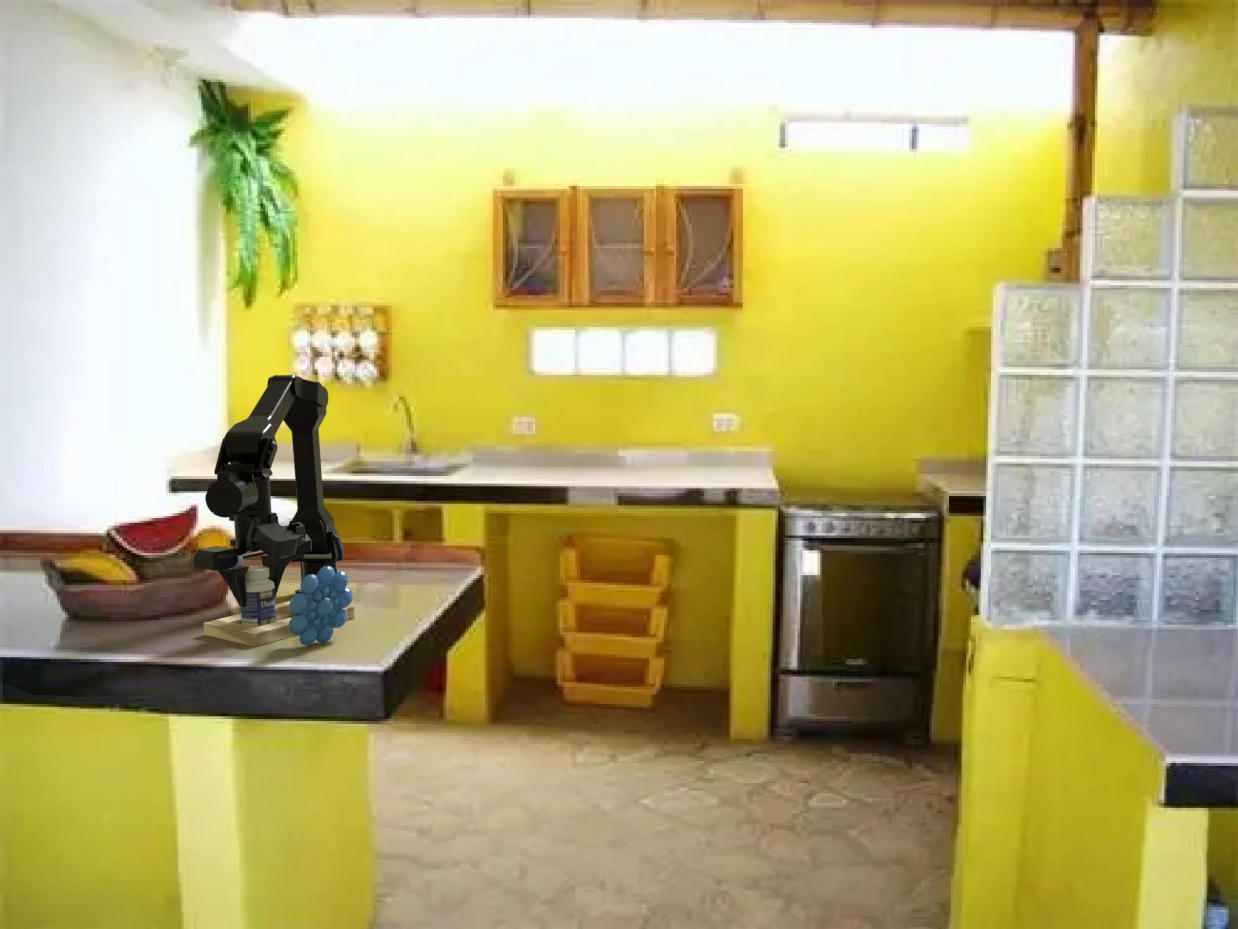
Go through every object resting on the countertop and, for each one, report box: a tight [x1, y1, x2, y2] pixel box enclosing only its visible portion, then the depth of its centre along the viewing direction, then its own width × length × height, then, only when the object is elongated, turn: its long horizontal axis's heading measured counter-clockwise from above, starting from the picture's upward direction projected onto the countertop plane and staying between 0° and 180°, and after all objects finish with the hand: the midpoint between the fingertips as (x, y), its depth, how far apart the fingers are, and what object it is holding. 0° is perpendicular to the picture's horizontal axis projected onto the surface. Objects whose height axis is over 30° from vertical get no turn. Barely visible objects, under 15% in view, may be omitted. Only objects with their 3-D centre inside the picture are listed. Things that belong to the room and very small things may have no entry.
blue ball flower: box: [289, 566, 354, 647], centre depth 165 cm, size 12×7×12 cm, turn 142°
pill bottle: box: [239, 565, 277, 628], centre depth 171 cm, size 5×5×10 cm
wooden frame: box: [203, 600, 356, 647], centre depth 176 cm, size 20×13×2 cm, turn 146°
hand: (257, 603), depth 172 cm, fingers closed on pill bottle, 5 cm apart
